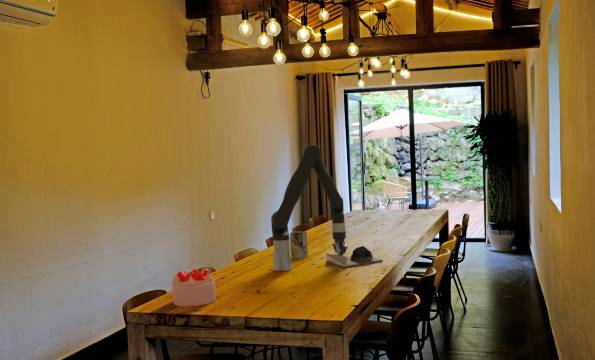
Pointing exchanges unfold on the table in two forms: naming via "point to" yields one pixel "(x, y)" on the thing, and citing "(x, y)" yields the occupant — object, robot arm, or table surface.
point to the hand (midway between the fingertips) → (340, 260)
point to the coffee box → (299, 244)
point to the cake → (193, 288)
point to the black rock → (361, 254)
